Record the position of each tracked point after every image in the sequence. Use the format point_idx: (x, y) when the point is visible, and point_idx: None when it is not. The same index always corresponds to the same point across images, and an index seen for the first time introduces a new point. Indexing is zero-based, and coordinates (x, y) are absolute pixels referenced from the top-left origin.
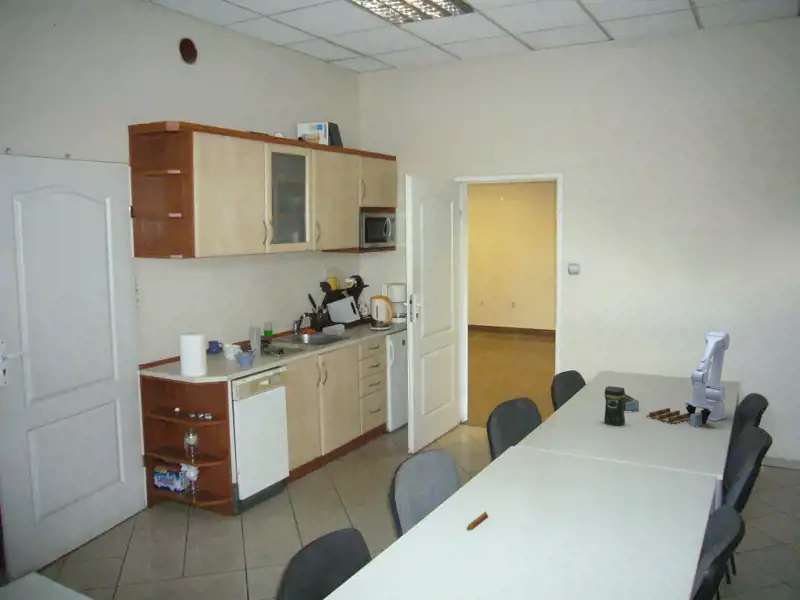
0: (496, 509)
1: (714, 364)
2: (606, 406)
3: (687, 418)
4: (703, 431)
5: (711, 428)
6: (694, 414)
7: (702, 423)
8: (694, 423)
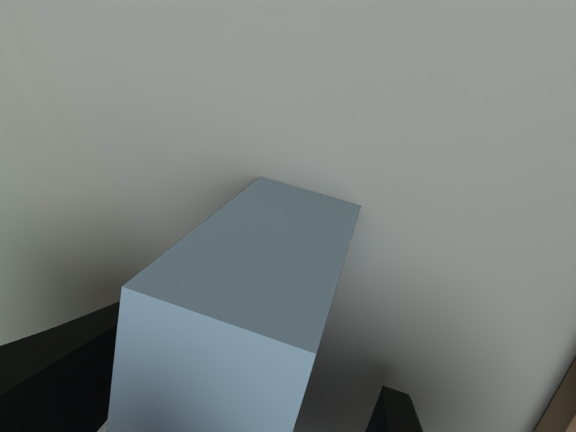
0: None
1: None
2: None
3: None
4: (31, 3)
5: (48, 272)
6: (193, 391)
7: None
8: (242, 198)
